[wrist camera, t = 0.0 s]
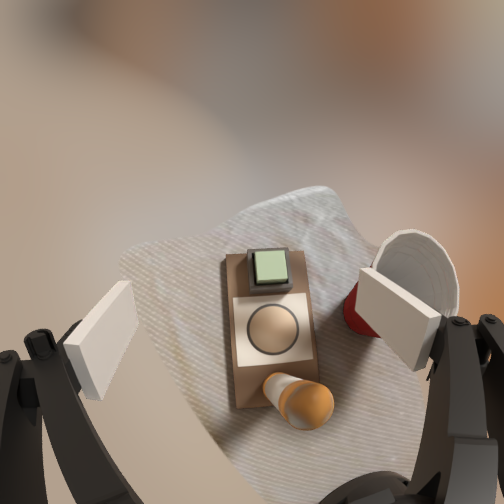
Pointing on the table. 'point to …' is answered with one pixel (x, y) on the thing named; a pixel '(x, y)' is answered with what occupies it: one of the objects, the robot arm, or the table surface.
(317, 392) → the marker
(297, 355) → the board
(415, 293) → the plastic cup
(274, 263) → the button
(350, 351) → the table surface
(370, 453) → the table surface
